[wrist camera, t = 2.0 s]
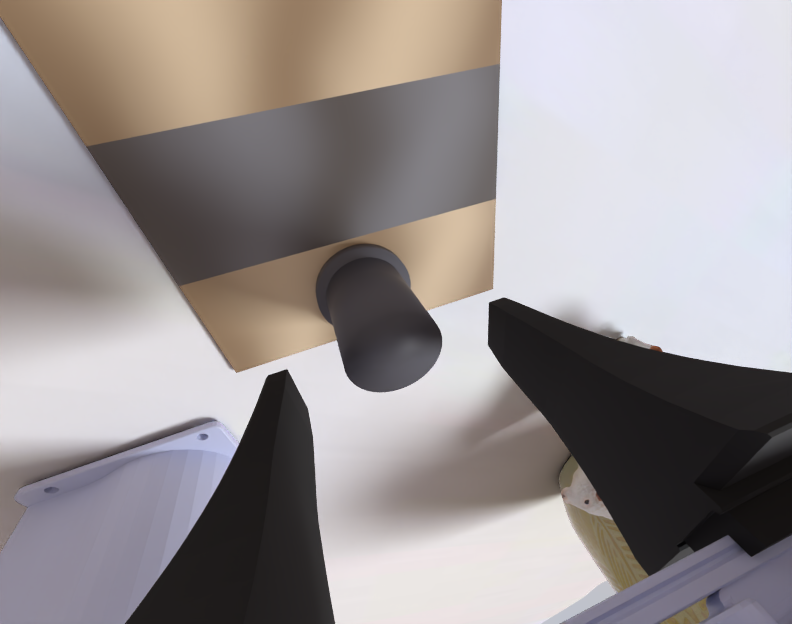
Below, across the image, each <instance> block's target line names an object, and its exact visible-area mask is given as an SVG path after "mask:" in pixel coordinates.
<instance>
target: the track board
mask: <svg viewBox="0 0 792 624" xmlns="http://www.w3.org/2000/svg"><path fill="white" fill-rule="evenodd" d="M501 9H502V0H0V17H1V19H2V20H3V22H4V23H5V25H6V26H7V28H8V29H9V31H10V32H11V34H12V35H13V37H14V38H15V40H16V41H17V43H18V44H19V46H20V47H21V49H22V50H23V52H24V53H25V55H26V57H27V58H28V60H29V61H30V63H31V64H32V66H33V67H34V69H35V70H36V72H37V73H38V75H39V76H40V78H41V79H42V81H43V82H44V84H45V85H46V87H47V88H48V90H49V91H50V93H51V94H52V96H53V97H54V99H55V100H56V102H57V103H58V105H59V106H60V108H61V109H62V111H63V112H64V114H65V115H66V117H67V118H68V120H69V121H70V123H71V124H72V126H73V127H74V129H75V130H76V132H77V133H78V135H79V136H80V138H81V139H82V141H83V142H84V144H85V145H86V147H87V148H88V150H89V152H90V153H91V155H92V156H93V158H94V159H95V161H96V162H97V164H98V165H99V167H100V168H101V170H102V171H103V173H104V174H105V176H106V177H107V179H108V180H109V182H110V183H111V185H112V186H113V188H114V189H115V191H116V192H117V194H118V195H119V197H120V198H121V200H122V201H123V203H124V204H125V206H126V207H127V209H128V210H129V212H130V213H131V215H132V216H133V218H134V219H135V221H136V222H137V224H138V225H139V227H140V228H141V230H142V231H143V233H144V234H145V236H146V237H147V239H148V240H149V242H150V243H151V245H152V247H153V248H154V250H155V251H156V253H157V254H158V256H159V257H160V259H161V260H162V262H163V263H164V265H165V266H166V268H167V269H168V271H169V272H170V274H171V275H172V277H173V278H174V280H175V281H176V283H177V284H178V286H179V287H180V289H181V290H182V292H183V293H184V295H185V296H186V298H187V299H188V301H189V302H190V304H191V305H192V307H193V308H194V310H195V311H196V313H197V314H198V316H199V317H200V319H201V320H202V322H203V323H204V325H205V326H206V328H207V329H208V331H209V332H210V334H211V335H212V337H213V338H214V340H215V342H216V343H217V345H218V346H219V348H220V349H221V351H222V352H223V354H224V355H225V357H226V358H227V360H228V361H229V363H230V364H231V366H232V367H233V369H234V370H235V372H236V373H237V372H240V371H243V370H247V369H250V368H253V367H256V366H259V365H262V364H265V363H268V362H271V361H274V360H277V359H280V358H283V357H286V356H289V355H292V354H295V353H299V352H302V351H305V350H308V349H311V348H314V347H317V346H320V345H323V344H326V343H329V342H332V341H335V340H337V338H336V335H335V331H334V327H333V325H331V324H330V323H329V322H328V321H327V320H326V319H325V318H324V316H323V315H322V313H321V311H320V309H319V306H318V303H317V298H316V291H315V290H316V281H317V277H318V274H319V272H320V270H321V268H322V267H323V265H324V264H325V263H326V262H327V260H328V259H329V258H330V257H332V256H333V255H334V254H335V253H337V252H338V251H340V250H342V249H344V248H346V247H349V246H352V245H356V244H375V245H379V246H383V247H385V248H387V249H389V250H390V251H392V252H393V253H394V254H395V255H396V256H397V257H398V258H399V259H400V260H401V262H402V263H403V264H404V265H405V267H406V269H407V270H408V273H409V276H410V280H411V290H412V291H413V293H414V294H415V295H416V297H417V298H418V300H419V301H420V302H421V304H422V305H423V306H424V308H425V309H426V311H427V310H430V309H433V308H436V307H439V306H442V305H445V304H448V303H451V302H455V301H458V300H461V299H464V298H467V297H470V296H473V295H476V294H479V293H482V292H485V291H488V290H491V289H493V271H494V238H495V205H496V173H497V140H498V107H499V75H500V42H501Z"/></svg>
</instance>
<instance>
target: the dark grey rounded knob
mask: <svg viewBox="0 0 792 624" xmlns="http://www.w3.org/2000/svg"><path fill="white" fill-rule="evenodd" d="M315 291H316V298H317V303H318V306H319V309H320V311H321V313H322V315H323V316H324V318H325V319H326V320H327V321H328V322H329V323H330V324H331V325H333V327H334V331H335V335H336V338H337V342H338V346H339V350H340V353H341V357H342V361H343V365H344V368H345V372H346V374H347V376H348V378H349V379H350V380H351V381H352V382H353V383H354V384H355V385H356V386H358V387H360V388H362V389H364V390H367V391H372V392H390V391H395V390H398V389H402V388H404V387H407V386H409V385H411V384H413V383H414V382H416V381H417V380H419V379H420V378H422V377H423V376H424V375H425V374H426V373H427V372H428V371H429V370H430V369H431V368H432V367H433V365H434V364H435V362H436V361H437V359H438V357H439V355H440V352H441V348H442V336H441V332H440V329H439V328H438V326H437V324H436V323H435V322H434V320H433V319H432V317H431V316H430V315H429V313H428V312H427V311H426V309H425V308H424V306H423V305H422V304H421V302H420V301H419V300H418V298H417V297H416V295H415V294H414V293H413V291H412V290H411V280H410V276H409V273H408V270H407V269H406V267H405V265H404V264H403V263H402V262H401V260H400V259H399V258H398V257H397V256H396V255H395V254H394V253H393V252H392V251H390V250H389V249H387V248H385V247H383V246H379V245H375V244H356V245H352V246H349V247H346V248H344V249H342V250H340V251H338V252H337V253H335V254H334V255H333V256H332V257H330V258H329V259H328V260H327V262H326V263H325V264H324V265H323V267H322V268H321V270H320V272H319V274H318V277H317V281H316V290H315Z"/></svg>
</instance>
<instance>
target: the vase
mask: <svg viewBox="0 0 792 624" xmlns="http://www.w3.org/2000/svg"><path fill="white" fill-rule="evenodd" d="M577 469H578V464H577V461H576V460H575V458H574V457H573V455H572V456H571V457H570V458H569V459H568V461H567V462H566V463H565V465H564V467H563V468H562V470H561V473H560V475H559V485H560V489H561V491H562V490H563V489H564V488H565V487H570V486H571V484H572V479H573V474H574V472H575V471H576V470H577ZM563 502H564V500H563ZM564 506H565V509H566V512H567V515H568V518H569V520H570V523H571V525H572V527H573V529H574V530H575V532H576V534H577V535H578V537H579V539H580V540H581V542H582V543H583V545H584V546H585V548H586V549H587V551H588V552H589V554H590V556H591V557H592V559H593V560H594V562H595V563H596V564H597V566H598V567H599V569H600V570H601V572H602V573H603V575H604V576H605V578H606V579H607V581H608V582H609V583H610V585H611V586H612V588H613V589H614V591H615V592H616V593H619V592H621V591H623V590H624V589H626V588H628V587H630V586H632V585H634V584H636V583H638V582H640V581H642V580H643V579H645V578H647V577H649V576H648V574H647V573H646V572H645V571H644V569H643V568H642V567H641V565H640V564H639V563H638V562H637V560H636V559H635V557H634V555H633V554H632V552H631V550H630V548H629V546H628V544H627V543H626V541H625V539H624V537H623V536H622V534H621V532H620V531H619V529H618V527H617V526H616V524H615V522H614V520H611V519H608V518H605V517H603V516H596V515H593V514H589V513H588V512H586V511H584V510H582V509H580V508H577V507H576V506H574V505H571V504H568V503H566V502H564ZM706 599H707V597H706V598H704V599H703V600H701V601H699V602H697V603H695V604H694V605H692V606H690V607H688V608H686V609H685V610H683V611H681V612H679V613H678V614H676V615H674V616H672V617H670V618H669V619H667V620H665V621H663V622H661V623H660V624H698V623H700V622H701V621H703V620H705V619H707V618H708V616H709V611H708V609H707V606H706Z"/></svg>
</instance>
